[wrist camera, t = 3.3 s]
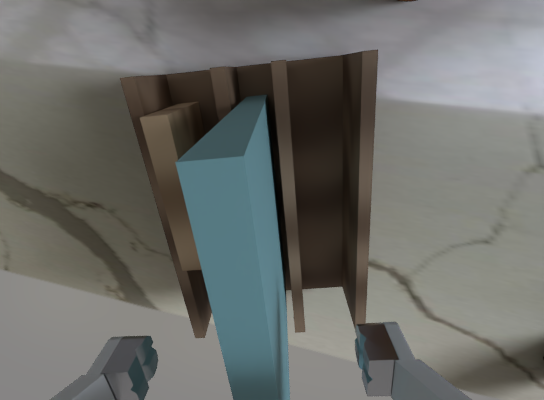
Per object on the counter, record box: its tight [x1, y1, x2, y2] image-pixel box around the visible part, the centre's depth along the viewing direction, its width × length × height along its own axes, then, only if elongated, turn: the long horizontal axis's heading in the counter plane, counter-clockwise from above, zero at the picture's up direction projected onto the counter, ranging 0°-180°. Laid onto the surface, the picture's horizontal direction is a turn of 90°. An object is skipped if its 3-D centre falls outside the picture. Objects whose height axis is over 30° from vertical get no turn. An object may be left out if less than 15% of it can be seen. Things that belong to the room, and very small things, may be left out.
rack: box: [120, 50, 378, 338], centre depth 23 cm, size 20×14×6 cm
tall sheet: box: [175, 95, 290, 400], centre depth 17 cm, size 16×2×16 cm, turn 6°
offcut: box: [140, 102, 205, 271], centre depth 20 cm, size 10×2×6 cm, turn 6°
